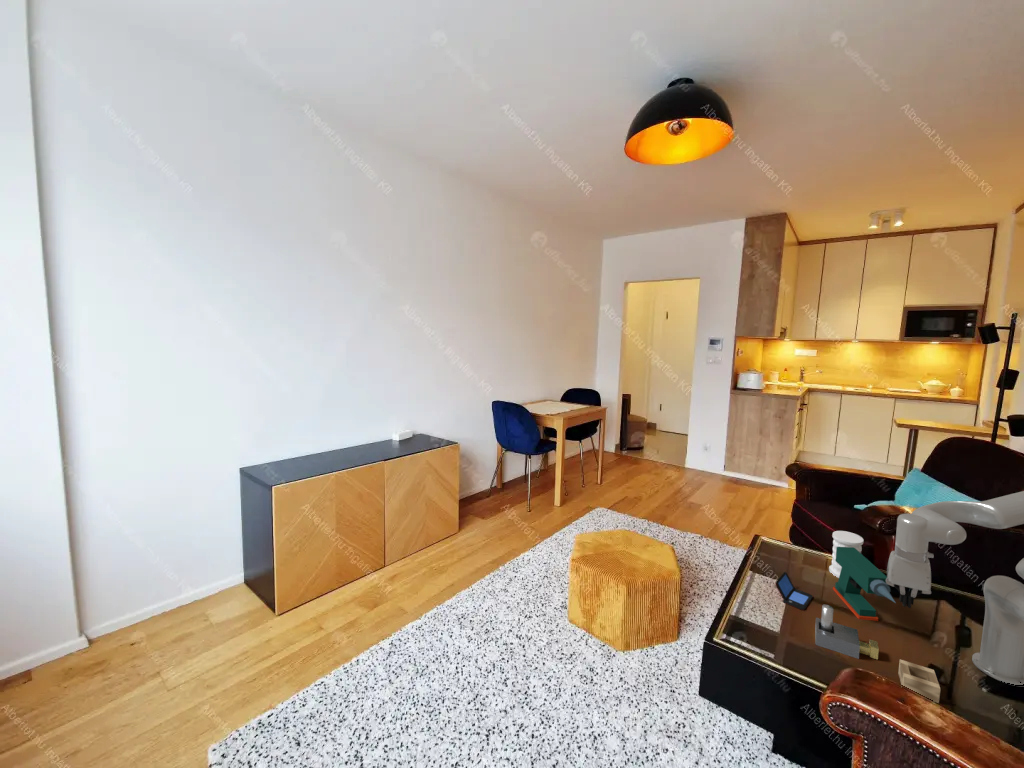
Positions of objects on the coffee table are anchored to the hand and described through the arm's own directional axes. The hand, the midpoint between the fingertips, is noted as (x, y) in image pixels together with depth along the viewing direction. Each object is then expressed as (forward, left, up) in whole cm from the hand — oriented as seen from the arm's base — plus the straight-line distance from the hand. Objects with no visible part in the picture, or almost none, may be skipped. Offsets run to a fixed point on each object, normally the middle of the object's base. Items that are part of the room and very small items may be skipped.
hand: (906, 604), depth 137 cm
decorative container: (+12, -52, -22) cm, 58 cm away
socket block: (+17, 0, -22) cm, 28 cm away
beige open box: (-3, +9, -22) cm, 24 cm away
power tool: (+7, -23, -22) cm, 33 cm away
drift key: (+12, 0, -21) cm, 25 cm away
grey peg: (+20, 0, -22) cm, 30 cm away
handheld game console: (+30, -21, -22) cm, 43 cm away
